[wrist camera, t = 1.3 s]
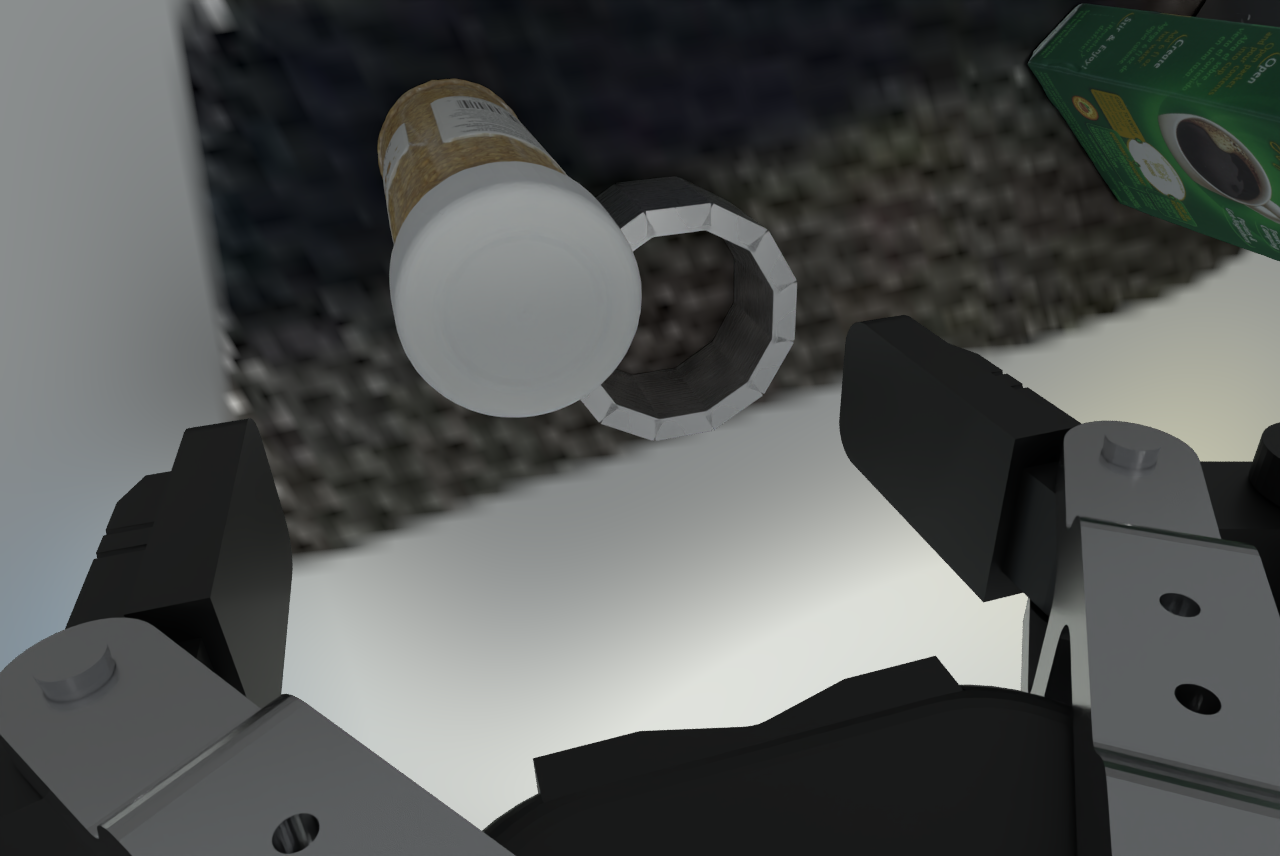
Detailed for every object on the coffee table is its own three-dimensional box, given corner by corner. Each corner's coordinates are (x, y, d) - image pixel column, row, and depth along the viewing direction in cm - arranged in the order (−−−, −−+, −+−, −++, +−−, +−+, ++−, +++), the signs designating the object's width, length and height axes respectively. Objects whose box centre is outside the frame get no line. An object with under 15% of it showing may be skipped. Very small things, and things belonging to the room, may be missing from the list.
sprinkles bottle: (344, 155, 26) (334, 322, 15) (450, 40, 26) (523, 125, 14) (460, 257, 29) (527, 468, 17) (559, 154, 28) (696, 305, 17)
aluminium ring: (757, 166, 30) (801, 192, 27) (753, 374, 34) (791, 416, 31) (528, 193, 28) (548, 223, 25) (551, 408, 32) (570, 456, 29)
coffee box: (1176, 153, 34) (1564, 259, 23) (1118, 211, 35) (1470, 341, 24) (1082, -5, 30) (1498, 33, 19) (1018, 63, 31) (1387, 138, 20)
